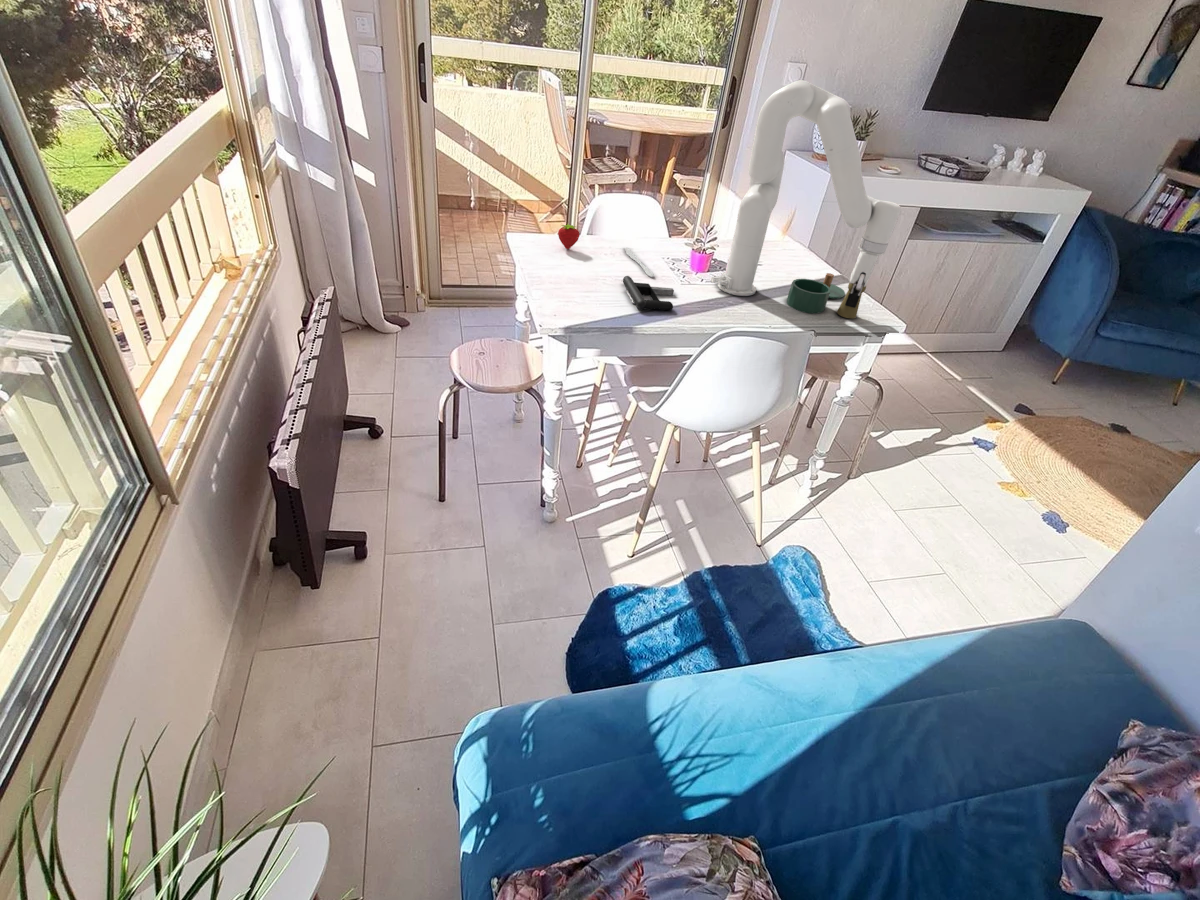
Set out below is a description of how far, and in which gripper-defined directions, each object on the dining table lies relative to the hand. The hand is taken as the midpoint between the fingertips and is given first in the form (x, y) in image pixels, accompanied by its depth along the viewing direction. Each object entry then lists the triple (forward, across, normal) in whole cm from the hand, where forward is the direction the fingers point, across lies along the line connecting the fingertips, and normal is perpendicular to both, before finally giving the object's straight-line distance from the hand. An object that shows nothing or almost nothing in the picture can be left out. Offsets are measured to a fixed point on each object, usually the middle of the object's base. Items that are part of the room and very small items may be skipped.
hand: (850, 302), depth 195 cm
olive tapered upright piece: (+4, 0, 0) cm, 4 cm away
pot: (+4, 0, -13) cm, 14 cm away
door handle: (+5, +25, -57) cm, 63 cm away
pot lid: (+4, -16, -8) cm, 18 cm away
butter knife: (+6, -2, -71) cm, 71 cm away
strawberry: (+6, +2, -96) cm, 96 cm away
